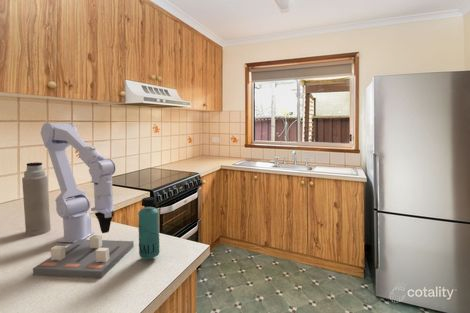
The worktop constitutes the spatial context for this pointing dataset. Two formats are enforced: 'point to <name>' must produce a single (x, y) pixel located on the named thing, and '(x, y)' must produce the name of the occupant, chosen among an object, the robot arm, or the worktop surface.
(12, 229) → the worktop surface
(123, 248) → the switch panel
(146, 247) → the beverage bottle
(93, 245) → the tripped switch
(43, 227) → the thermos bottle
